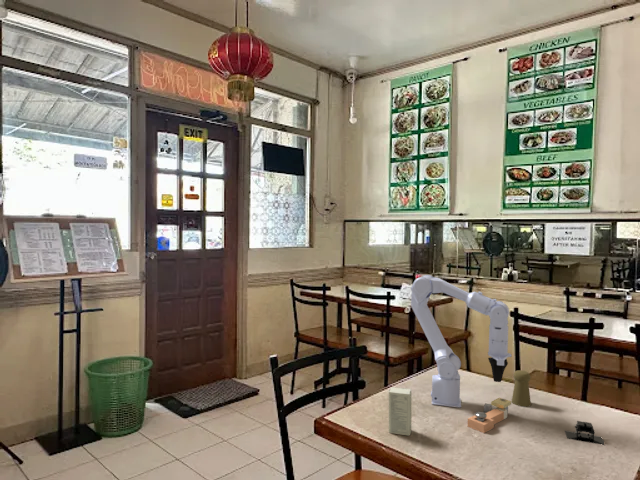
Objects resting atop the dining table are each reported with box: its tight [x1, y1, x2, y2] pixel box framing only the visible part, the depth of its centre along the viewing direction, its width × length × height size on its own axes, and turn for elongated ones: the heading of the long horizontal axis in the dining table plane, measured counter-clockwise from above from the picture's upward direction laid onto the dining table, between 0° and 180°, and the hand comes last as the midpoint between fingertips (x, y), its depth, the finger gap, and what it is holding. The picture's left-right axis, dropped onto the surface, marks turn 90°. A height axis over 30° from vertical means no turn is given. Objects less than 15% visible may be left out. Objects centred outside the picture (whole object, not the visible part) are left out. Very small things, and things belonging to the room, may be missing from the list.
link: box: [467, 407, 508, 434], centre depth 136 cm, size 16×5×2 cm, turn 130°
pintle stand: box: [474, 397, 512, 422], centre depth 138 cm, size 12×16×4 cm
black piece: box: [564, 420, 605, 446], centre depth 127 cm, size 12×7×5 cm, turn 67°
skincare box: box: [388, 386, 412, 436], centre depth 129 cm, size 6×4×12 cm
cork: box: [511, 369, 532, 408], centre depth 152 cm, size 6×6×11 cm
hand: (497, 381), depth 144 cm, fingers closed
